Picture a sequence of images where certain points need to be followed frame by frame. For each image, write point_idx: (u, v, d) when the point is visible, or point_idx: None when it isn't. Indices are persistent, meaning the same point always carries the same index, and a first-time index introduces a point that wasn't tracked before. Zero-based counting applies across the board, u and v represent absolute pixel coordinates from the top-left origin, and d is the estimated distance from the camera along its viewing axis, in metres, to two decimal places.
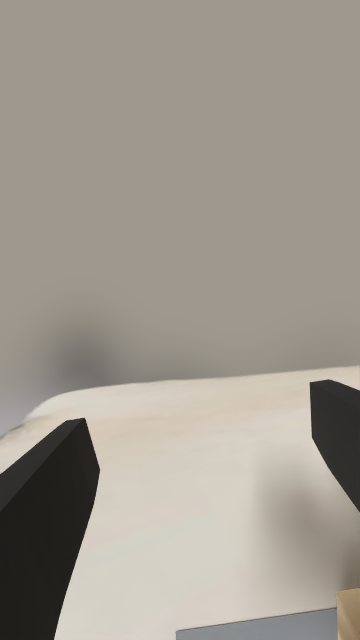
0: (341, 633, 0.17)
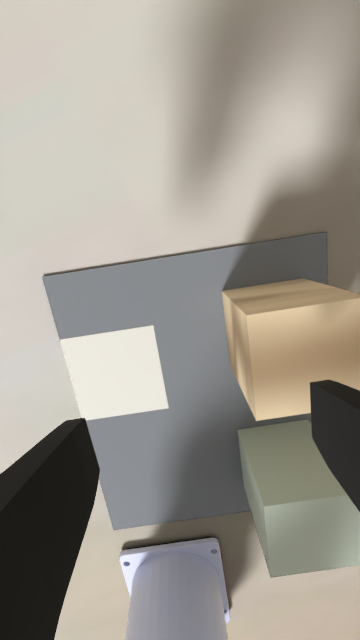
0: (233, 309, 0.14)
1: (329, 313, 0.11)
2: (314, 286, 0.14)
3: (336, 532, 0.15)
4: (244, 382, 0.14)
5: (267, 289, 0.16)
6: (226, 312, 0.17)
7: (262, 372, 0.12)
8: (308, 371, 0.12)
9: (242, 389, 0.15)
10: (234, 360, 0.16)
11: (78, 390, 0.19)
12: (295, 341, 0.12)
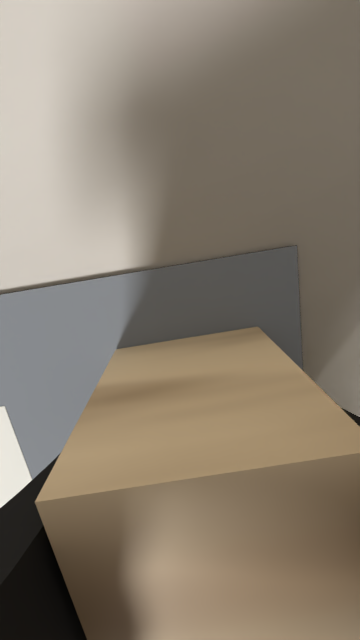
0: None
1: (270, 492, 0.04)
2: (264, 361, 0.07)
3: None
4: None
5: (182, 357, 0.08)
6: None
7: (108, 621, 0.05)
8: (225, 614, 0.05)
9: None
10: None
11: None
12: (182, 556, 0.04)
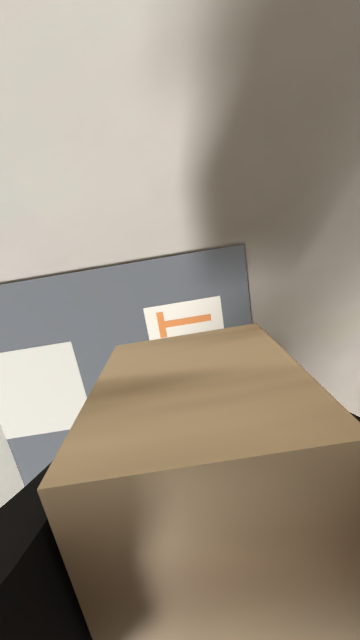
0: None
1: (266, 479, 0.04)
2: (262, 355, 0.07)
3: None
4: None
5: (181, 352, 0.08)
6: None
7: (108, 608, 0.05)
8: (223, 602, 0.05)
9: None
10: None
11: None
12: (180, 543, 0.04)
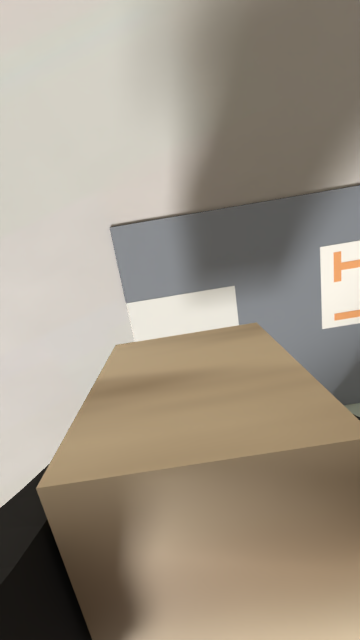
0: None
1: (265, 479, 0.04)
2: (262, 355, 0.07)
3: None
4: None
5: (181, 352, 0.08)
6: None
7: (107, 607, 0.05)
8: (222, 601, 0.05)
9: None
10: None
11: None
12: (180, 542, 0.04)
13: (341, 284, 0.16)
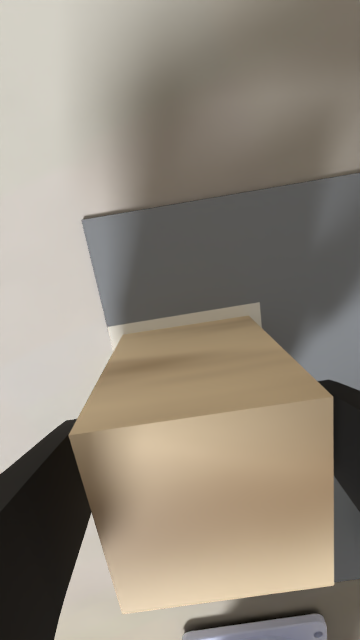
0: None
1: (248, 430, 0.05)
2: (251, 341, 0.08)
3: None
4: None
5: (181, 339, 0.09)
6: None
7: (121, 538, 0.06)
8: (214, 533, 0.06)
9: None
10: None
11: None
12: (180, 482, 0.06)
13: None
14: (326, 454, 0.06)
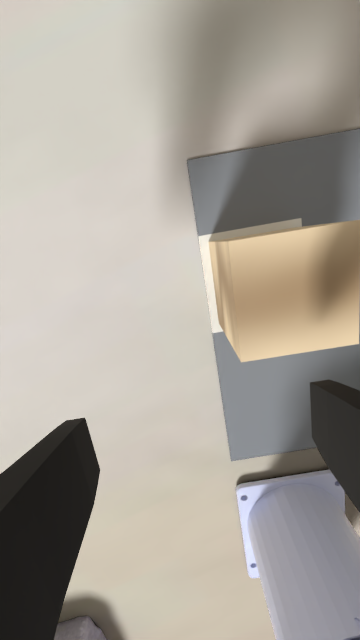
0: (217, 251, 0.13)
1: (317, 239, 0.11)
2: None
3: None
4: (230, 328, 0.13)
5: (255, 234, 0.15)
6: (213, 262, 0.16)
7: (246, 308, 0.11)
8: (295, 306, 0.11)
9: (229, 338, 0.14)
10: (221, 312, 0.15)
11: (211, 297, 0.17)
12: (281, 271, 0.11)
13: None
14: (356, 255, 0.11)
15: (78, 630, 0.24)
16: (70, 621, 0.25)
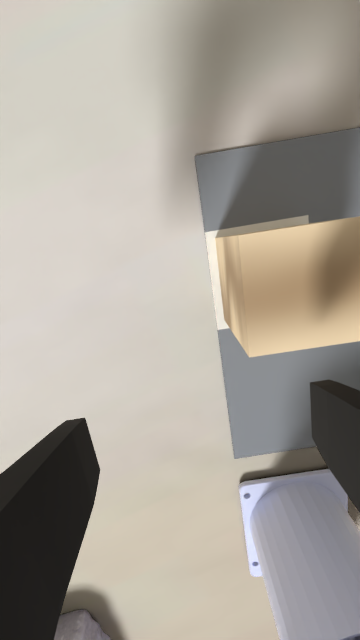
0: (225, 246, 0.13)
1: (327, 234, 0.11)
2: None
3: None
4: (237, 323, 0.13)
5: None
6: (219, 258, 0.16)
7: (255, 302, 0.11)
8: (304, 301, 0.11)
9: (235, 334, 0.14)
10: (228, 308, 0.15)
11: (217, 294, 0.17)
12: (290, 266, 0.11)
13: None
14: None
15: (75, 623, 0.24)
16: (67, 614, 0.24)
